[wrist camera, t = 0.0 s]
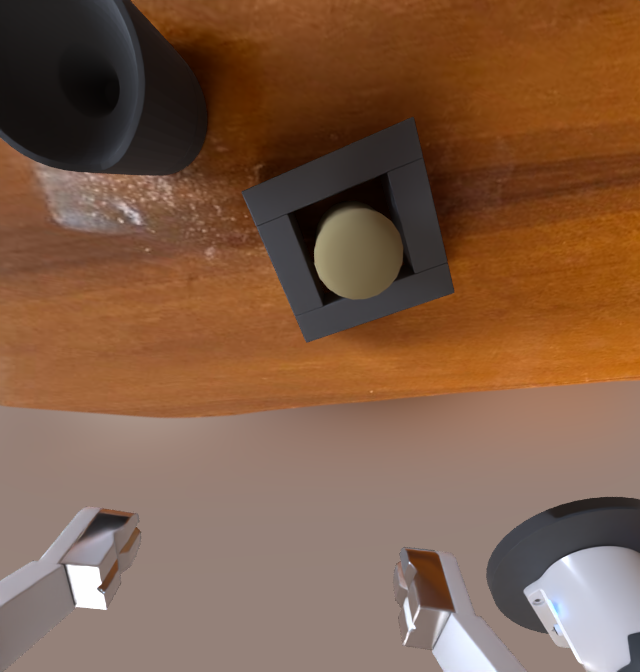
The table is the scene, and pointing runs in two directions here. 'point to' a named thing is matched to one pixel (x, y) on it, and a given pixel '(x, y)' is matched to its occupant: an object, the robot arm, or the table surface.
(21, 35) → the pen holder
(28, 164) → the table surface
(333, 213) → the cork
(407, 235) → the holder stand
